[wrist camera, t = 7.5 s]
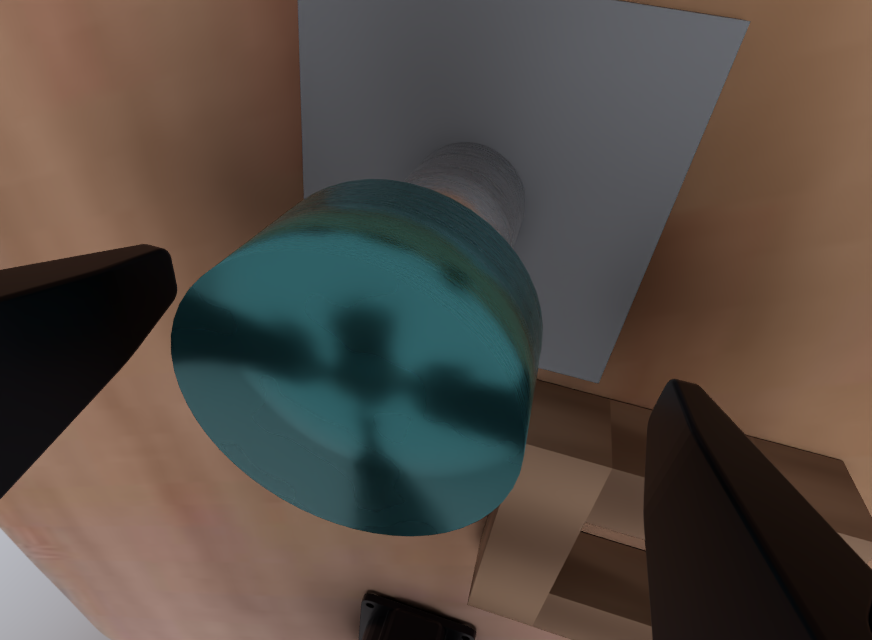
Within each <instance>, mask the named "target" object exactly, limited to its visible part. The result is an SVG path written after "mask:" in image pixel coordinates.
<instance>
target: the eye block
mask: <svg viewBox="0 0 872 640" xmlns="http://www.w3.org/2000/svg"><path fill="white" fill-rule="evenodd" d="M651 412H652V410H648V409H645V408H641V407H637V406H633V405H629V404H626V403H622V402H618V401H614V400H611V399H607V398H603V397H599V396H596V395H592V394H588V393H584V392H581V391H577V390H573V389H569V388H565V387H562V386H558V385H554V384H550V383H547V382H543V381H539V380H536V385H535V391H534V397H533V403H532V409H531V416H530V422H529V428H528V434H527V440H526V447H525V453H524V458H523V462H522V467H521V471H520V474H519V476H518V479H517V481H516V483H515V485H514V487H513V489H512V490H511V492H510V493H509V494H508V496H507V497H506V498H505V500H504V501H503V502H502V503H501V504H500V505H499V506H498V507H497V508H496V509H494V510H493V511H492V512H491V513H490V514H489V515H488V518H487V521H486V524H485V528H484V531H483V534H482V537H481V541H480V545H479V550H478V555H477V560H476V565H475V570H474V574H473V579H472V584H471V589H470V594H469V599H468V603H467V605H470V606H473V607H476V608H479V609H482V610H485V611H488V612H491V613H494V614H497V615H500V616H503V617H506V618H509V619H512V620H515V621H518V622H521V623H524V624H527V625H530V626H533V627H536V628H539V629H541V630H544V631H547V632H550V633H553V634H556V635H559V636H562V637H565V638H568V639H571V640H653V639H652V626H651V613H650V600H649V587H648V573H647V560H646V552H645V551H642V550H639V549H636V548H632V547H629V546H626V545H622V544H619V543H616V542H613V541H609V540H606V539H603V538H599V537H596V536H593V535H589V534H586V533H583V532H580V531H581V529H582V527H583V525H584V523H585V522H586V523H589V524H593V525H596V526H599V527H603V528H606V529H609V530H613V531H616V532H619V533H623V534H626V535H629V536H632V537H636V538H639V539H642V540H645V534H644V518H643V500H644V479H645V460H646V440H647V426H648V421H649V417H650V415H651ZM747 437H748V438H749V439H750V440H751V441H752V442H753V443H754V444H755V445H756V447H757V448H758V449H759V450H760V451H761V452H762V453H763V454H764V455H765V456H766V457H767V458H768V459H769V460H770V461H771V463H772V464H773V465H774V466H775V467H776V468H777V469H778V470H779V471H780V472H781V473H782V474H783V475H784V476H785V477H786V478H787V480H788V481H789V482H790V483H791V484H792V485H793V486H794V487H795V488H796V489H797V490H798V491H799V492H800V493H801V494H802V496H803V497H804V498H805V499H806V500H807V501H808V502H809V503H810V504H811V505H812V506H813V507H814V508H815V509H816V510H817V511H818V513H819V514H820V515H821V516H822V517H823V518H824V519H825V520H826V521H827V522H828V523H829V524H830V525H831V526H832V527H833V529H834V530H835V531H836V532H837V533H838V534H839V535H840V536H841V537H842V538H843V539H844V540H845V541H846V542H847V543H848V545H849V546H850V547H851V548H852V549H853V550H854V551H855V552H856V553H857V554H858V555H859V556H860V557H861V558H862V559H863V560H864V562H865V563H866V564H867V563H868V562H869V561H870V560H871V559H872V517H871V515H870V513H869V511H868V509H867V507H866V505H865V503H864V501H863V499H862V497H861V495H860V493H859V492H858V490H857V488H856V486H855V484H854V482H853V480H852V478H851V476H850V474H849V472H848V470H847V468H846V466H845V464H844V462H843V461H841V460H837V459H833V458H829V457H825V456H822V455H818V454H814V453H810V452H807V451H803V450H799V449H795V448H792V447H788V446H784V445H780V444H776V443H773V442H769V441H765V440H761V439H758V438H754V437H750V436H747Z"/></svg>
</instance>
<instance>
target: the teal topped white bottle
mask: <svg viewBox="0 0 872 640" xmlns="http://www.w3.org/2000/svg"><path fill="white" fill-rule="evenodd" d="M525 201H526V200H525V191H524V187H523V184H522V181H521V179H520V177H519V175H518V173H517V171H516V170H515V168H514V167H513V166H512V164H511V163H510V162H509V161H508V160H507V159H506V158H505V157H504V156H502V155H501V154H500V153H498V152H497V151H495V150H493V149H492V148H489V147H487V146H485V145H481V144H478V143H471V142H458V143H452V144H448V145H445V146H443V147H441V148H438V149H437V150H435V151H434V152H432V153H431V154H430V155H429V156H427V157H426V158H425V159H424V160H423V161H422V162H421V164H420V165H419V166H418V167H417V168H416V169H415V170H414V171H413V172H412V173H411V174H410V175H409V176H408V177H407V178H406V179H405V180H404V181H403V182H400V181H394V180H387V179H363V180H355V181H347V182H343V183H339V184H336V185H332V186H329V187H326V188H324V189H322V190H320V191H318V192H315V193H313V194H311V195H310V196H308V197H307V198H305V199H304V200H303V201H301V202H300V203H298V204H297V205H295V206H294V207H293V208H291V209H290V210H289V211H288V212H286V213H285V214H284V215H282V216H281V217H280V218H278V219H277V220H276V221H274V222H273V223H272V224H270V225H269V226H268V227H266V228H265V229H264V230H262V231H261V232H260V233H258V234H257V235H256V236H254V237H253V238H252V239H250V240H249V241H248V242H246V243H245V244H244V245H243V246H241V247H240V248H239V249H237V250H236V251H235V252H233V253H232V254H231V255H229V256H228V257H227V258H225V259H224V260H223V261H221V262H220V263H219V264H217V265H216V266H215V267H213V268H212V269H211V270H209V271H208V272H207V273H205V274H204V275H203V276H201V277H200V278H199V279H198V281H197V282H196V283H195V284H194V285H193V286H192V287H191V288H190V289H189V290H188V291H187V293H186V295H185V296H184V298H183V299H182V301H181V302H180V304H179V307H178V309H177V312H176V315H175V317H174V321H173V327H172V333H171V355H172V361H173V367H174V371H175V375H176V378H177V381H178V384H179V387H180V389H181V392H182V394H183V396H184V398H185V400H186V403H187V405H188V406H189V408H190V410H191V411H192V413H193V415H194V417H195V418H196V420H197V421H198V423H199V424H200V425H201V427H202V428H203V430H204V431H205V432H206V434H207V435H208V436H209V438H210V439H211V440H212V441H213V442H214V443H215V444H216V446H217V447H218V448H219V449H220V450H221V451H222V452H223V453H224V454H225V455H226V456H227V457H228V458H229V459H230V460H231V461H232V462H233V463H234V464H235V465H236V466H237V467H239V468H240V469H241V470H242V471H243V472H244V473H246V474H247V475H248V476H249V477H250V478H252V479H253V480H255V481H256V482H257V483H259V484H260V485H261V486H263V487H264V488H266V489H267V490H269V491H270V492H272V493H273V494H275V495H277V496H278V497H280V498H281V499H283V500H285V501H287V502H289V503H290V504H292V505H294V506H296V507H298V508H300V509H302V510H304V511H306V512H309V513H311V514H313V515H315V516H317V517H320V518H323V519H325V520H328V521H331V522H333V523H336V524H339V525H343V526H346V527H350V528H353V529H357V530H362V531H366V532H371V533H377V534H385V535H393V536H425V535H434V534H440V533H446V532H450V531H453V530H457V529H460V528H463V527H465V526H468V525H470V524H472V523H474V522H477V521H479V520H480V519H482V518H483V517H485V516H486V515H488V514H490V513H491V512H492V511H493V510H494V509H496V508H497V507H498V506H499V505H500V504H501V503H502V502H503V501H504V500H505V498H506V497H507V496H508V494H509V493H510V492H511V490H512V489H513V487H514V485H515V483H516V481H517V479H518V476H519V474H520V471H521V467H522V462H523V458H524V453H525V447H526V440H527V434H528V428H529V422H530V416H531V409H532V403H533V397H534V391H535V385H536V378H537V372H538V366H539V360H540V354H541V347H542V336H543V322H542V312H541V307H540V303H539V299H538V295H537V292H536V289H535V287H534V285H533V282H532V280H531V277H530V275H529V273H528V271H527V270H526V268H525V266H524V265H523V263H522V261H521V260H520V258H519V256H518V255H517V254H516V252H515V251H514V250H513V248H514V244H515V241H516V238H517V235H518V232H519V229H520V226H521V223H522V220H523V216H524V212H525Z"/></svg>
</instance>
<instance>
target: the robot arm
mask: <svg viewBox="0 0 872 640" xmlns="http://www.w3.org/2000/svg"><path fill="white" fill-rule="evenodd" d="M176 294H177V284H176V279H175V274H174V269H173V264H172V259H171V256H170V254H169V252H168V251H167V250H165V249H163V248H160V247H156V246H152V245H148V244H141V245H136V246H130V247H124V248H119V249H113V250H108V251H102V252H97V253H91V254H86V255H80V256H75V257H69V258H64V259H58V260H52V261H47V262H41V263H36V264H30V265H25V266H19V267H14V268H8V269H3V270H0V499H1V498H2V497H3V496H4V495H5V494H6V493H7V491H8V490H9V489H10V488H11V487H12V486H13V485H14V484H15V483H16V482H17V481H18V480H19V479H20V477H21V476H22V475H23V474H24V473H25V472H26V471H27V470H28V469H29V468H30V467H31V466H32V464H33V463H34V462H35V461H36V460H37V459H38V458H39V457H40V456H41V455H42V454H43V453H44V452H45V450H46V449H47V448H48V447H49V446H50V445H51V444H52V443H53V442H54V441H55V440H56V439H57V437H58V436H59V435H60V434H61V433H62V432H63V431H64V430H65V429H66V428H67V427H68V426H69V425H70V423H71V422H72V421H73V420H74V419H75V418H76V417H77V416H78V415H79V414H80V413H81V412H82V410H83V409H84V408H85V407H86V406H87V405H88V404H89V403H90V402H91V401H92V400H93V399H94V398H95V396H96V395H97V394H98V393H99V392H100V391H101V390H102V389H103V388H104V387H105V386H106V385H107V383H108V382H109V381H110V380H111V379H112V378H113V377H114V376H115V375H116V374H117V373H118V372H119V371H120V369H121V368H122V367H123V366H124V365H125V364H126V363H127V361H128V360H129V359H130V358H131V357H132V355H133V354H134V353H135V351H136V350H137V349H138V348H139V346H140V345H141V344H142V342H143V341H144V340H145V338H146V337H147V336H148V334H149V333H150V332H151V330H152V329H153V328H154V326H155V325H156V324H157V322H158V321H159V320H160V318H161V317H162V316H163V314H164V313H165V312H166V310H167V309H168V308H169V306H170V305H171V304H172V302H173V301H174V299H175V297H176ZM643 518H644V534H645V547H646V560H647V573H648V587H649V600H650V613H651V626H652V639H653V640H872V569H871V568H870V567H869V566H868V565H867V564H866V563H865V562H864V560H863V559H862V558H861V557H860V556H859V555H858V554H857V553H856V552H855V551H854V550H853V549H852V548H851V547H850V546H849V545H848V543H847V542H846V541H845V540H844V539H843V538H842V537H841V536H840V535H839V534H838V533H837V532H836V531H835V530H834V529H833V527H832V526H831V525H830V524H829V523H828V522H827V521H826V520H825V519H824V518H823V517H822V516H821V515H820V514H819V513H818V511H817V510H816V509H815V508H814V507H813V506H812V505H811V504H810V503H809V502H808V501H807V500H806V499H805V498H804V497H803V496H802V494H801V493H800V492H799V491H798V490H797V489H796V488H795V487H794V486H793V485H792V484H791V483H790V482H789V481H788V480H787V478H786V477H785V476H784V475H783V474H782V473H781V472H780V471H779V470H778V469H777V468H776V467H775V466H774V465H773V464H772V463H771V461H770V460H769V459H768V458H767V457H766V456H765V455H764V454H763V453H762V452H761V451H760V450H759V449H758V448H757V447H756V445H755V444H754V443H753V442H752V441H751V440H750V439H749V438H748V437H747V436H746V435H745V434H744V433H743V432H742V431H741V430H740V428H739V427H738V426H737V425H736V424H735V423H734V422H733V421H732V420H731V419H730V418H729V417H728V416H727V415H726V414H725V412H724V411H723V410H722V409H721V408H720V407H719V406H718V405H717V404H716V403H715V402H714V401H713V400H712V399H711V398H710V397H709V395H708V394H707V393H706V392H705V391H704V390H703V389H702V388H701V387H700V386H699V385H697V384H694V383H690V382H686V381H682V380H678V379H672V380H670V381H669V382H668V383H667V384H666V386H665V388H664V390H663V391H662V393H661V395H660V397H659V399H658V401H657V403H656V405H655V407H654V409H653V411H652V412H651V415H650V417H649V421H648V426H647V440H646V460H645V479H644V500H643ZM475 637H476V631H475V630H474V629H472V628H470V627H468V626H465V625H462V624H459V623H456V622H453V621H451V620H448V619H445V618H442V617H439V616H436V615H433V614H430V613H427V612H424V611H421V610H418V609H415V608H412V607H409V606H407V605H404V604H401V603H398V602H395V601H392V600H389V599H386V598H383V597H380V596H377V595H374V594H371V593H367V594H365V595H364V598H363V600H362V604H361V617H360V630H359V640H475Z"/></svg>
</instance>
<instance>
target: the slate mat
mask: <svg viewBox="0 0 872 640" xmlns="http://www.w3.org/2000/svg"><path fill="white" fill-rule="evenodd" d="M298 24H299V57H300V89H301V121H302V154H303V186H304V199H305V198H307V197H308V196H310V195H311V194H313V193H315V192H318V191H320V190H322V189H324V188H326V187H329V186H332V185H336V184H339V183H343V182H347V181H355V180H363V179H387V180H394V181H400V182H403V181H404V180H405V179H406V178H407V177H408V176H409V175H410V174H411V173H412V172H413V171H414V170H415V169H416V168H417V167H418V166H419V165H420V164H421V162H422V161H423V160H424V159H425V158H426V157H427V156H429V155H430V154H431V153H432V152H434V151H435V150H437V149H438V148H441V147H443V146H445V145H448V144H452V143H458V142H471V143H478V144H481V145H485V146H487V147H489V148H492V149H493V150H495V151H497V152H498V153H500V154H501V155H502V156H504V157H505V158H506V159H507V160H508V161H509V162H510V163H511V164H512V166H513V167H514V168H515V170H516V171H517V173H518V175H519V177H520V179H521V181H522V184H523V187H524V191H525V200H526V201H525V212H524V216H523V220H522V223H521V226H520V229H519V232H518V235H517V238H516V241H515V244H514V248H513V250H514V251H515V252H516V254H517V255H518V256H519V258H520V260H521V261H522V263H523V265H524V266H525V268H526V270H527V271H528V273H529V275H530V277H531V280H532V282H533V285H534V287H535V289H536V292H537V295H538V299H539V303H540V307H541V312H542V322H543V336H542V347H541V354H540V360H539V366H538V368H541V369H545V370H549V371H553V372H557V373H560V374H564V375H568V376H572V377H576V378H579V379H583V380H587V381H591V382H595V383H599V381H600V379H601V376H602V374H603V372H604V369H605V367H606V364H607V362H608V360H609V357H610V355H611V352H612V350H613V348H614V345H615V343H616V341H617V338H618V336H619V333H620V331H621V329H622V326H623V324H624V321H625V319H626V317H627V314H628V312H629V310H630V307H631V305H632V302H633V300H634V298H635V295H636V293H637V291H638V288H639V286H640V283H641V281H642V279H643V276H644V274H645V271H646V269H647V267H648V264H649V262H650V260H651V257H652V255H653V252H654V250H655V248H656V245H657V243H658V240H659V238H660V236H661V233H662V231H663V229H664V226H665V224H666V221H667V219H668V217H669V214H670V212H671V210H672V207H673V205H674V202H675V200H676V198H677V195H678V193H679V190H680V188H681V186H682V183H683V181H684V179H685V176H686V174H687V171H688V169H689V167H690V164H691V162H692V159H693V157H694V155H695V152H696V150H697V148H698V145H699V143H700V140H701V138H702V136H703V133H704V131H705V129H706V126H707V124H708V121H709V119H710V117H711V114H712V112H713V109H714V107H715V105H716V102H717V100H718V98H719V95H720V93H721V90H722V88H723V86H724V83H725V81H726V78H727V76H728V74H729V71H730V69H731V67H732V64H733V62H734V59H735V57H736V55H737V52H738V50H739V47H740V45H741V43H742V40H743V38H744V36H745V33H746V31H747V28H748V26H749V24H750V21H746V20H742V19H735V18H729V17H722V16H716V15H710V14H703V13H697V12H690V11H684V10H677V9H671V8H665V7H658V6H652V5H645V4H639V3H632V2H626V1H620V0H298Z"/></svg>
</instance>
